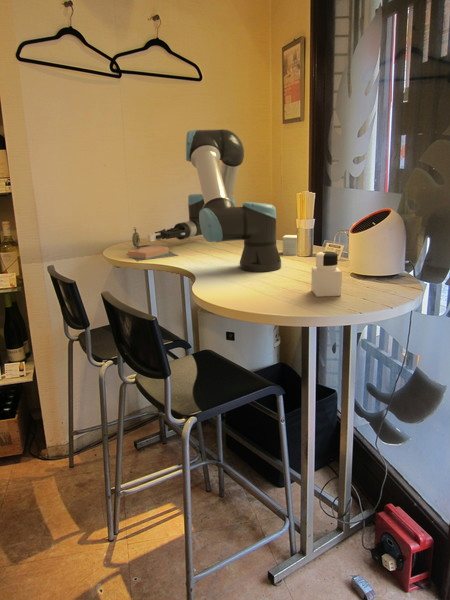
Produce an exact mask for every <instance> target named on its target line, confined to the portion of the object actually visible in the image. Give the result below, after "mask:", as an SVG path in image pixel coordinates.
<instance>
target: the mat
mask: <svg viewBox="0 0 450 600" xmlns="http://www.w3.org/2000/svg"><path fill="white" fill-rule="evenodd" d="M126 255H127V256H128V257H129V255H128V253H126ZM172 257H180V255H179V254H177V253H174V252H172V251H170V250H169V253H168V254H164V255H160V256H157V257H153V258H149V259H139V258H132V259H133V260H135V261H136V262H137V263H139V262H140V261H149V260H156V259H165V258H172Z"/></svg>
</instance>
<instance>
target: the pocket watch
mask: <svg viewBox="0 0 450 600" xmlns="http://www.w3.org/2000/svg"><path fill="white" fill-rule="evenodd" d="M133 231H134V232H133V233H132V236H131V237H132V245H133V246H134V247H136V249H139V248H144V247H148V246H151V245H149V244H148V245H147V244H145V245H144V244H143V245H140V239H141V238H140V234H139V233H138V232H137V228H136V227H135V226H134V227H133Z"/></svg>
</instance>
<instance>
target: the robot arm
mask: <svg viewBox="0 0 450 600" xmlns="http://www.w3.org/2000/svg"><path fill="white" fill-rule="evenodd" d="M185 138H186V139H185V160H186V161H187V162H191V165H192V166H193V167H194V168H195V169H196V171H197V175H198V176H197V177H198V181H199V185H200V188H201V193H192V194H189V195H188V196H187V206H188V207H187V208H188V221H182V222H178V223H176V224H174V226H173V227H171V228H168V229H167V228H166V229H165V228H163V229H161V230H158V231H155V232H154V233H151V234H147V241H148V242H151V243H152V242H155V241H161V240H165V239H166V240H169V239H175V238H176V239H178V240H180V241H182V240H185V239H189V240H190V238H194V237H198V236H202V237H203V239H204V240H205V241H206V242H209V243H222V242H233V241H234V242H235V241H243V250H242V253H241V257H240V260H239V269H241V270H242V271H247V272H254V273H255V272H258V273H259V272H270V271H276V270H279V269H281V268H282V259H281V255H280V253H279V250H278V247H277V219H278V218H277V210H276V209H277V208H276V207H275V206H274V205H273V204H270V203H263V202H253V201H252V202H251V201H244V202H243V203H242V206H236V199H235V198H234V196H233V195H234V191H235V187H236V182H237V177H238V173H239V169H240V166H241V165H242V164H243V162H244V158H245V148H244V145H243V142H242V140H241V138H239V136H238V135H237V134H236V133H235V132H233V131H232V130H229V129H224V128H223V129H195V130H194V129H192V130H188V131H187V132H186V137H185ZM220 161H221V164H220V163H219V162H220Z"/></svg>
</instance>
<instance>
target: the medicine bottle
mask: <svg viewBox="0 0 450 600" xmlns="http://www.w3.org/2000/svg"><path fill="white" fill-rule="evenodd" d="M338 256H339V255H338V253H336V252H335V251H330V250H329V251H327V250H325V251H319V252H317V253H316V254H315V266H313V267H311V288H310V289H311V292H312V293H313V294H314V295H315V297H316V298H317V297H318V298H319V297H337V296H338V297H341V296H342V285H343V283H342V281H343V280H342V279H343V271H341V269H339V268H338V265H339V264H338V260H339V259H338V258H339V257H338Z"/></svg>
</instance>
